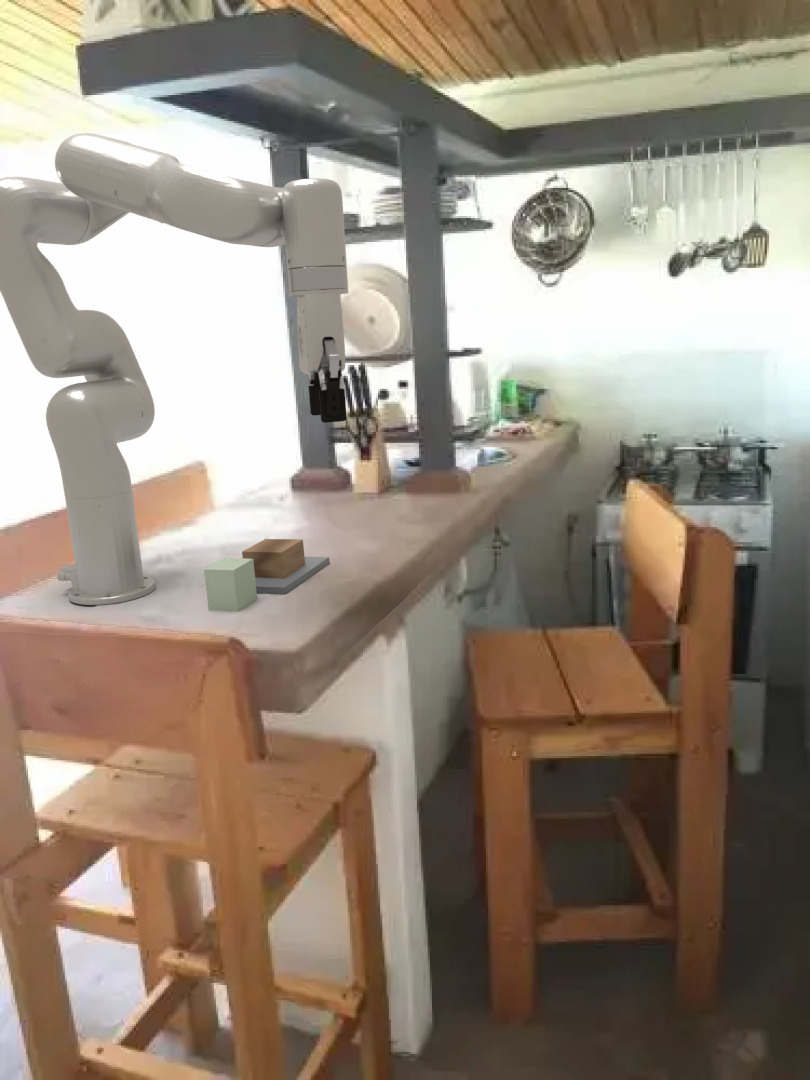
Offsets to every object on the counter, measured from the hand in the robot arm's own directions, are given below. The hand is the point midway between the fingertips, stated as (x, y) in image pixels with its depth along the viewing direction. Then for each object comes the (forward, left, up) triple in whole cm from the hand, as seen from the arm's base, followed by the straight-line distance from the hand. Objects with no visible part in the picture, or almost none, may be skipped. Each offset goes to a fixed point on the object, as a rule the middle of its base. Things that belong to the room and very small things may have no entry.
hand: (328, 417), depth 123 cm
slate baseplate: (-16, +12, -26) cm, 32 cm away
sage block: (-16, -2, -26) cm, 30 cm away
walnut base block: (-16, +12, -26) cm, 32 cm away
